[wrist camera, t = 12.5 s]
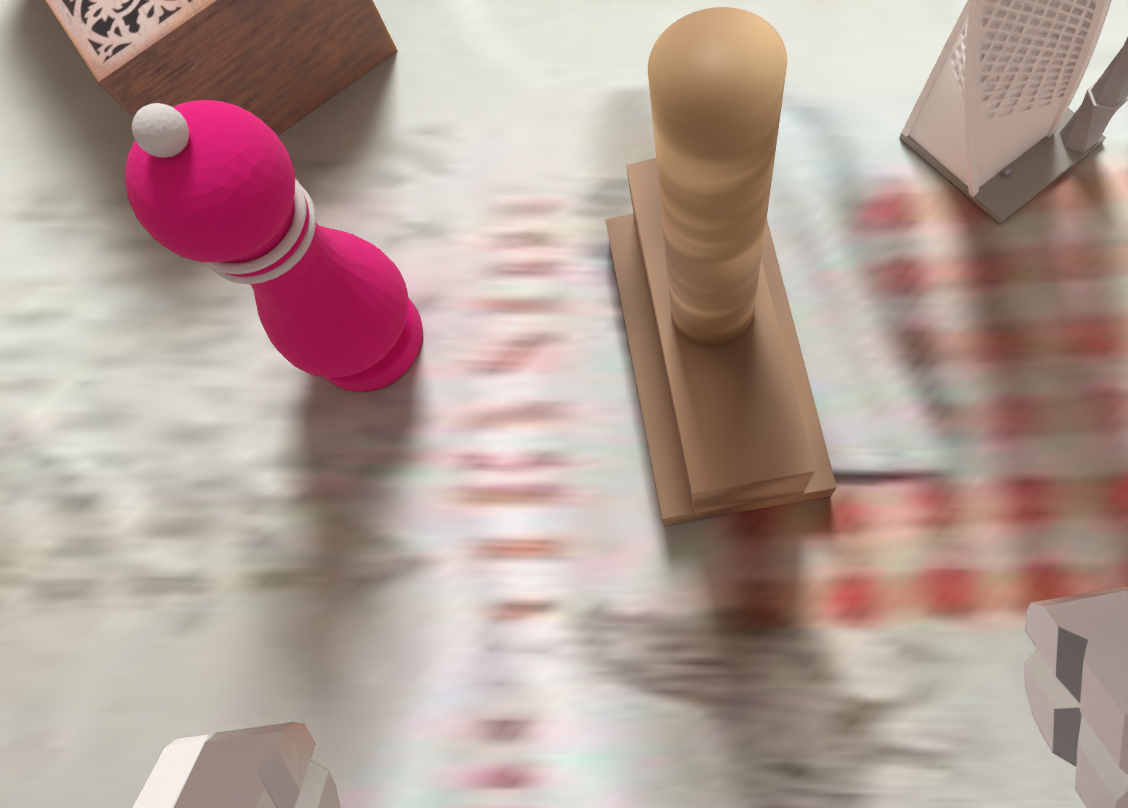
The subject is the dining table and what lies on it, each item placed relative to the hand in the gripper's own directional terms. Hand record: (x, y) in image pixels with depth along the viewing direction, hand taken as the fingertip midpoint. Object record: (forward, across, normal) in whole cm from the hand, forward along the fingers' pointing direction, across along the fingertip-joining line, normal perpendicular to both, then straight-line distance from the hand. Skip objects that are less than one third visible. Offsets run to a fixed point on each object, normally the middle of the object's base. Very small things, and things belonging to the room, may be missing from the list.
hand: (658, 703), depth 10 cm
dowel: (+28, +4, -7) cm, 29 cm away
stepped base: (+33, +4, -11) cm, 35 cm away
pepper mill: (+37, -14, -8) cm, 40 cm away
